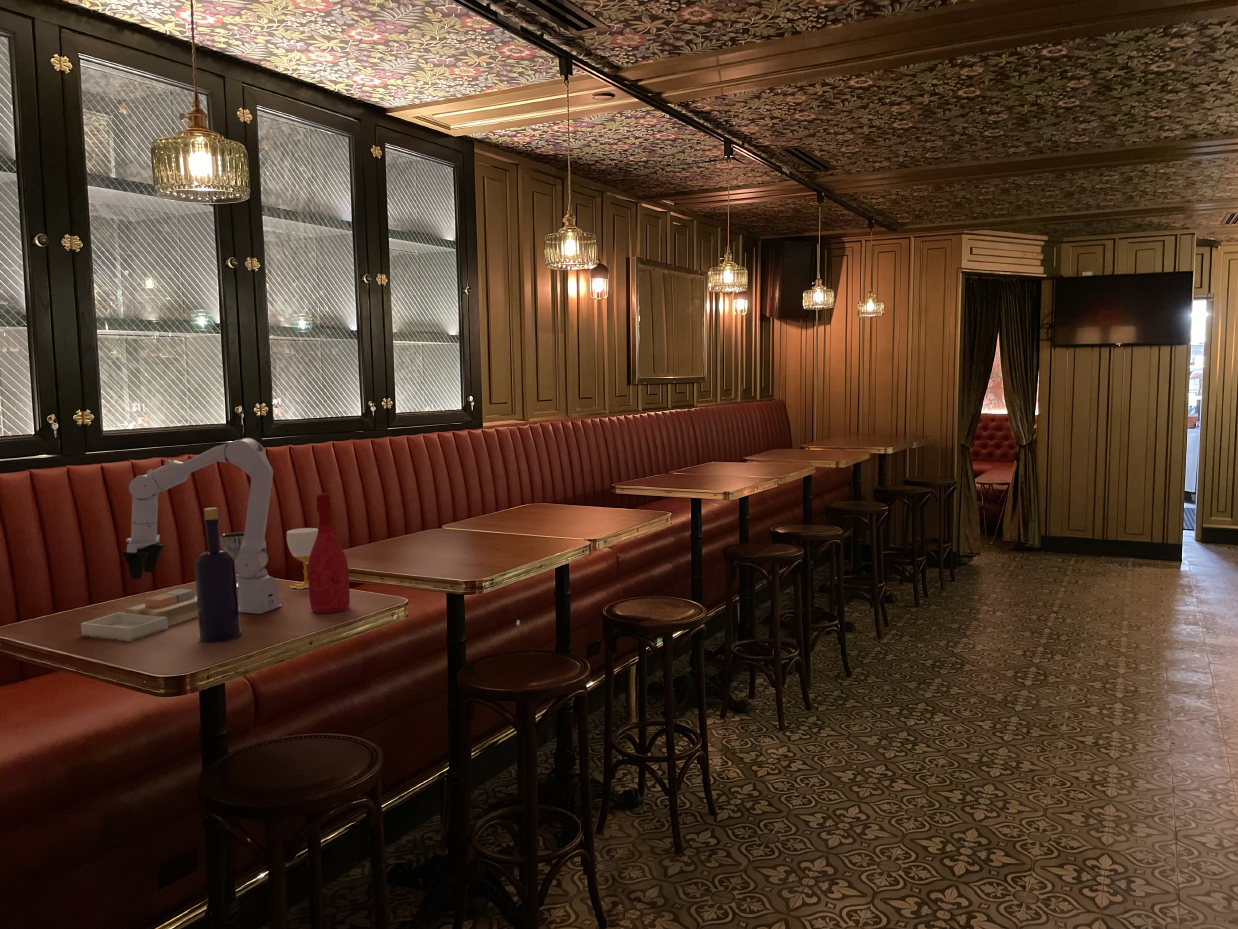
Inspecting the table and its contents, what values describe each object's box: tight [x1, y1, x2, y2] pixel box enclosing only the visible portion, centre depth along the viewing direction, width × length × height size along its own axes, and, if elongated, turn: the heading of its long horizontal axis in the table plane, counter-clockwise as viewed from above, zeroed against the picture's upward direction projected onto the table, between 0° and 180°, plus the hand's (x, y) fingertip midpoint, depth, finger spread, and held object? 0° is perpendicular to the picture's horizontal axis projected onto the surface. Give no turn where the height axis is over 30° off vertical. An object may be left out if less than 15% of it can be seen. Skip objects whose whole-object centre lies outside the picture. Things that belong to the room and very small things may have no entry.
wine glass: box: [219, 531, 245, 587], centre depth 252 cm, size 8×8×15 cm
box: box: [80, 611, 169, 642], centre depth 206 cm, size 16×10×3 cm, turn 69°
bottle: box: [194, 507, 242, 644], centre depth 199 cm, size 9×9×30 cm
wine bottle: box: [307, 492, 351, 614], centre depth 221 cm, size 10×10×30 cm
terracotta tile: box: [144, 593, 177, 608], centre depth 216 cm, size 5×5×2 cm
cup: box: [286, 527, 318, 590], centre depth 249 cm, size 9×9×16 cm
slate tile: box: [163, 588, 196, 602], centre depth 221 cm, size 5×5×2 cm
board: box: [125, 595, 199, 627], centre depth 218 cm, size 12×14×4 cm
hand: (142, 575), depth 220 cm, fingers open, 7 cm apart
